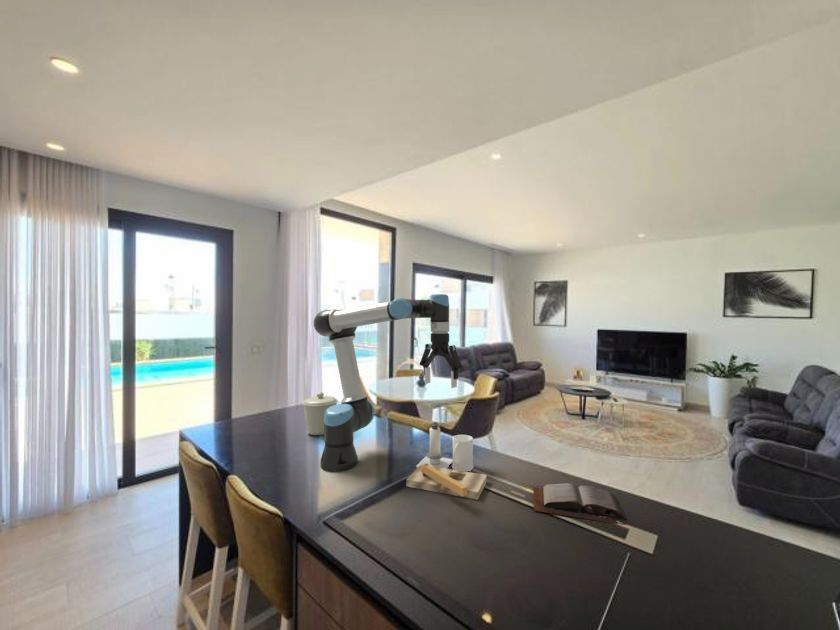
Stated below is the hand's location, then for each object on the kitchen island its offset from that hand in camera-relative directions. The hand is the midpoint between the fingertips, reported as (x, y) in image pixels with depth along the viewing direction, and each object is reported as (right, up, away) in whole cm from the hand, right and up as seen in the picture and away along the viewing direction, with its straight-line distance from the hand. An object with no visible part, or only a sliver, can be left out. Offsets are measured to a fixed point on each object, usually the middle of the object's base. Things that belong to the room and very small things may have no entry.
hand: (440, 385), depth 149 cm
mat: (-2, -33, +2) cm, 33 cm away
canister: (-60, -33, +44) cm, 82 cm away
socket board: (+2, -33, -15) cm, 36 cm away
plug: (-2, -32, +2) cm, 32 cm away
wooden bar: (-1, -29, -22) cm, 37 cm away
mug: (+8, -33, -2) cm, 34 cm away
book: (+43, -34, -29) cm, 62 cm away
